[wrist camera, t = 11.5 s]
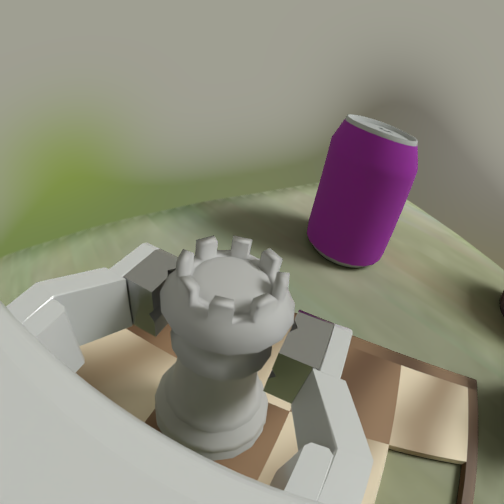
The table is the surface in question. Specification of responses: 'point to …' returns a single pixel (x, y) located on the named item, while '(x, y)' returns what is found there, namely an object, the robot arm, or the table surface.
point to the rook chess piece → (221, 345)
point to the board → (280, 414)
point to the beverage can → (362, 191)
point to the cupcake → (502, 303)
